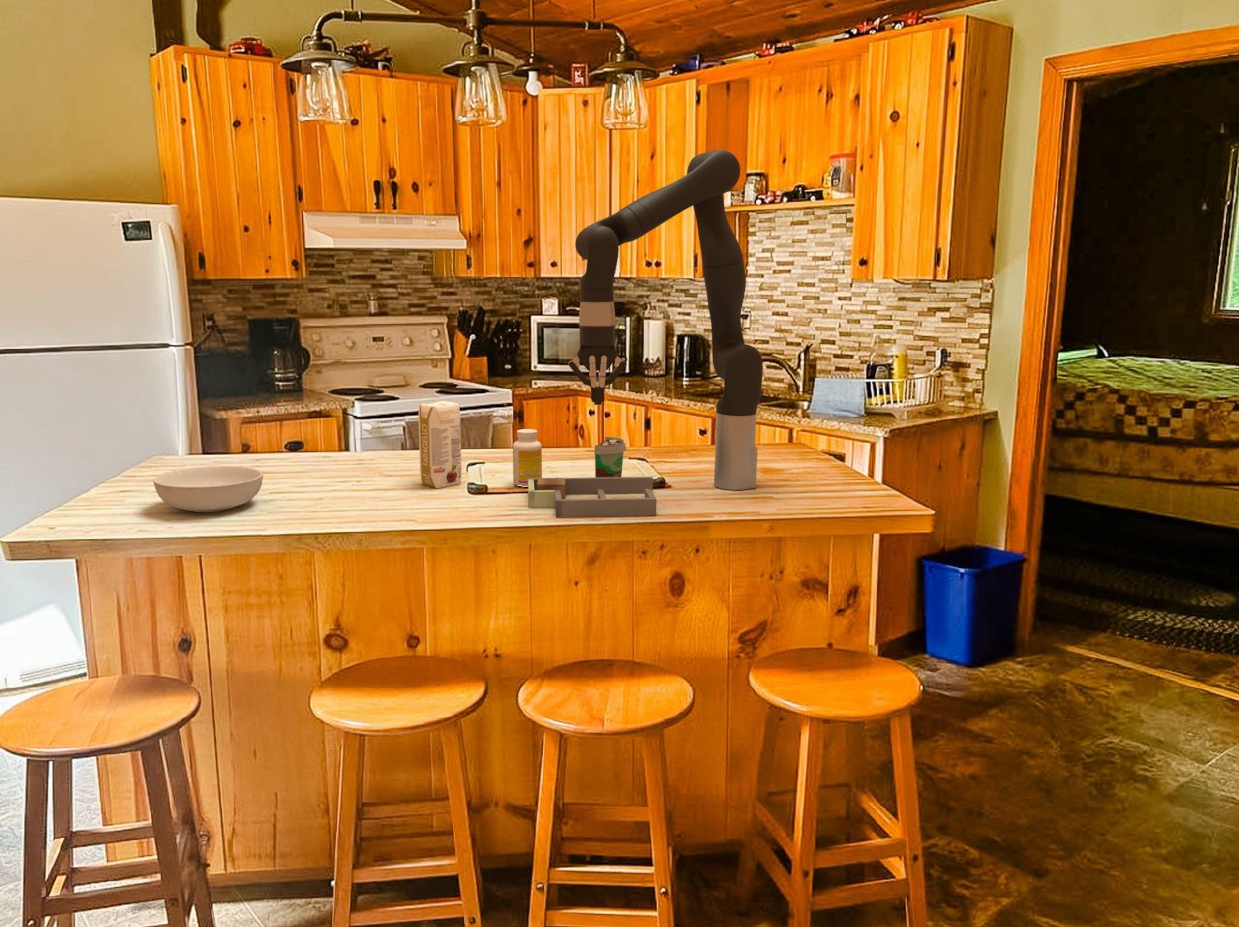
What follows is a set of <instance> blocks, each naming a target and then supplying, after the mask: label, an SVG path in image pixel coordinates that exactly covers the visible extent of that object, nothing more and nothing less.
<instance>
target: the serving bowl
mask: <svg viewBox="0 0 1239 927" xmlns="http://www.w3.org/2000/svg"><path fill="white" fill-rule="evenodd" d="M263 479H264V473H263V472H262V471H261V470H260V469H255V468H252V467H248V466H237V465H236V466H233V465H227V466H226V465H218V466H217V465H215V466H213V465H211V466H197V467H190V468H189V467H188V468H183V469H177V470H170V471H167V472H165V473H162V474H158V475H157V476H156V477H154V478H153V485H154V488H155V491H156V494H157V496H158V497H159V498H160V499H161V500H162V501H163V502H164V503H165V504H167V505H168V506H171V507H172V508H176V509H179V510H185V511H189V512H192V513H193V512H194V513H215V512H222V511H223V512H224V511H227V510H229V509H232V508H235V507H238V506H240V505H244V504H245V503H247V502H250V501H251V500H253V499H254V498H255V497H256V496H257V494H258V493H259V492H260V490H261V487H262V485H263Z"/></svg>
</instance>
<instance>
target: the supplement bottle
mask: <svg viewBox="0 0 1239 927" xmlns="http://www.w3.org/2000/svg"><path fill="white" fill-rule="evenodd" d="M516 437H517V440H516V441H515V442H513V445H512V473H513V474H512V476H513V477H512V479H513V485H514V484H516V485H521V486H528V478H543V466H542V464H543V459H542V454H543V452H542V451H543V449H542V443H541V442H540V441H538V440H537V438H538V430H537V429H531V428H525V429H524V428H522V429H518V430H517V431H516Z"/></svg>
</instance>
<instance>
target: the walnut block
mask: <svg viewBox="0 0 1239 927" xmlns="http://www.w3.org/2000/svg"><path fill="white" fill-rule="evenodd" d="M565 478H566V477H542V478H538V483H537V490H560V493H561V498H562V499H566V494H565Z"/></svg>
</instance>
